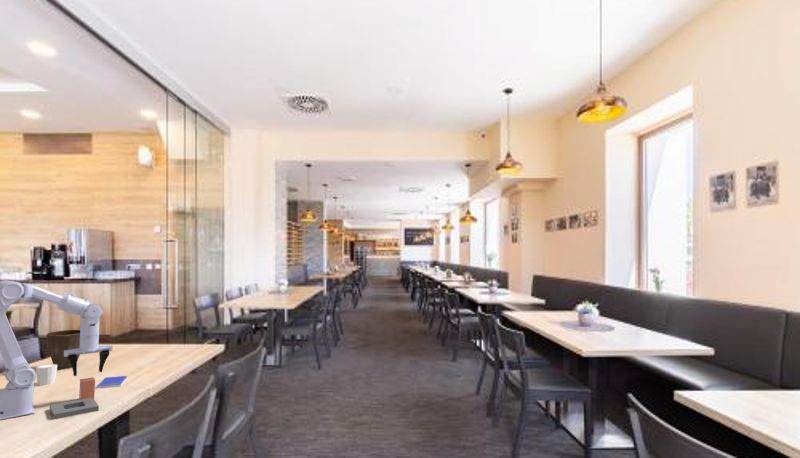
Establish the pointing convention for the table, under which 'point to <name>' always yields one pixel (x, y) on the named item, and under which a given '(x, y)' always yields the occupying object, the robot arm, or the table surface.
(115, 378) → the hard drive
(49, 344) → the plant pot
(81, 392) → the reddish brown block
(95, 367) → the table surface
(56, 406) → the socket plate
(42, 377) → the white tapered cup
